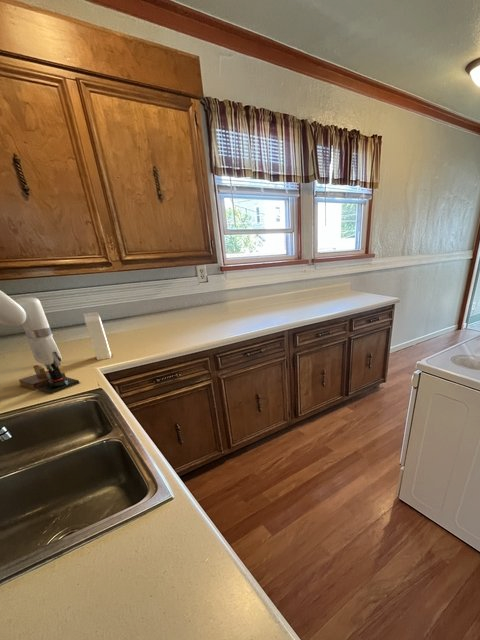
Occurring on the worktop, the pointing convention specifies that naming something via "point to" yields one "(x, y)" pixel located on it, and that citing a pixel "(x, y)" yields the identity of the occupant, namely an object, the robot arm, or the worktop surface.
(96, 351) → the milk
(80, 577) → the worktop surface
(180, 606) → the worktop surface
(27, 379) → the lock plate
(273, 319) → the worktop surface
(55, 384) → the button block
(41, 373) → the brown rectangular block
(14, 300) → the robot arm
